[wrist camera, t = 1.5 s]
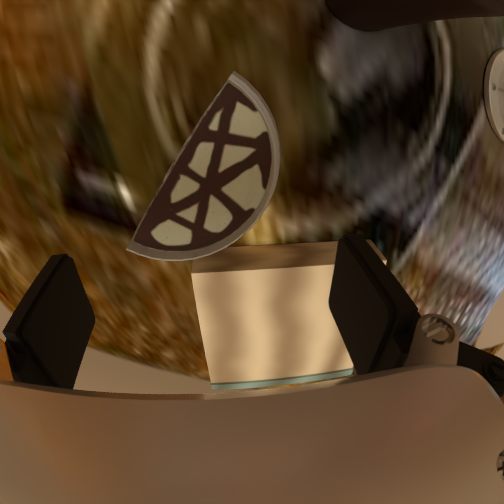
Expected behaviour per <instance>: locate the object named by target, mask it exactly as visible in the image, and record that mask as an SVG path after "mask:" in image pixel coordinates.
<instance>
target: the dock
mask: <svg viewBox="0 0 504 504" xmlns="http://www.w3.org/2000/svg"><path fill="white" fill-rule="evenodd" d="M366 241H367V242H368V243H369V245H370V246H371V247H372V248H373V250H374V251H375V252H376V253H377V255H378V256H379V257H380V258H381V260H382V261H383V262H384V263H385V265H386V261H387V260H386V259H385V258H384V256H383V255H382V254H381V252H380V251H379V250H378V248H377V247H376V246H375V245H374V243H373V242H372V241H371V240H366ZM337 245H338V241H332V242H313V243H294V244H276V245H258V246H240V247H226V248H224V249H222V250H220V251H218V252H215V253H213V254H211V255H208V256H204V257H201V258H197V259H193V264H192V271H191V275H192V282H193V288H194V294H195V300H196V306H197V312H198V317H199V323H200V328H201V334H202V339H203V344H204V349H205V354H206V359H207V364H208V369H209V374H210V379H211V385H212V389H213V390H223V389H242V388H255V387H267V386H277V385H286V384H295V383H303V382H310V381H317V380H324V379H330V378H336V377H342V376H347V375H351V374H352V371H353V363H352V360H351V358H350V356H349V353H348V351H347V348H346V346H345V344H344V341H343V339H342V337H341V334H340V332H339V330H338V327H337V325H336V323H335V320H334V318H333V316H332V314H331V311H330V309H329V304H328V300H329V294H330V288H331V283H332V277H333V271H334V265H335V258H336V252H337Z"/></svg>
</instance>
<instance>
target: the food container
mask: <svg viewBox="0 0 504 504" xmlns="http://www.w3.org/2000/svg"><path fill="white" fill-rule="evenodd" d="M280 155H281V152H280V140H279V134H278V130H277V127H276V123H275V120H274V118H273V116H272V113H271V111H270V109H269V107H268V105H267V104H266V102H265V101H264V99H263V98H262V96H261V95H260V93H259V92H258V91H257V90H256V89H255V88H254V87H253V86H252V85H251V84H250V83H249V82H248V81H247V80H246V79H245V78H244V77H242V76H241V75H239V74H238V73H237V72H235V71H234V72H233V73H232V74H231V76H230V77H229V78H228V80H227V81H226V83H225V84H224V85H223V87H222V88H221V90H220V91H219V92H218V94H217V95H216V97H215V98H214V100H213V101H212V103H211V104H210V105H209V107H208V108H207V110H206V111H205V113H204V114H203V116H202V117H201V119H200V120H199V122H198V123H197V125H196V127H195V128H194V130H193V131H192V133H191V134H190V136H189V137H188V139H187V141H186V142H185V144H184V145H183V147H182V149H181V150H180V152H179V154H178V155H177V157H176V159H175V160H174V162H173V164H172V165H171V167H170V169H169V170H168V172H167V174H166V176H165V177H164V179H163V181H162V183H161V184H160V186H159V188H158V190H157V191H156V193H155V195H154V197H153V199H152V201H151V202H150V204H149V206H148V208H147V210H146V212H145V214H144V216H143V217H142V219H141V221H140V223H139V225H138V227H137V229H136V231H135V233H134V235H133V237H132V239H131V241H130V243H129V245H128V247H127V249H126V250H128V251H131V252H133V253H135V254H138V255H141V256H144V257H148V258H151V259H157V260H164V261H184V260H192V259H197V258H201V257H204V256H208V255H211V254H213V253H215V252H218V251H220V250H222V249H224V248H226V247H227V246H229V245H231V244H232V243H234V242H235V241H237V240H238V239H239V238H240V237H241V236H243V235H244V234H245V233H246V232H247V231H249V230H250V229H251V228H252V226H253V225H254V224H255V223H256V222H257V221H258V220H259V219H260V217H261V215H262V214H263V212H264V211H265V209H266V208H267V206H268V204H269V202H270V200H271V198H272V195H273V193H274V190H275V187H276V183H277V179H278V175H279V166H280Z"/></svg>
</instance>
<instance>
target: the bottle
mask: <svg viewBox="0 0 504 504" xmlns="http://www.w3.org/2000/svg"><path fill="white" fill-rule="evenodd" d="M326 2H327V5H328V6H329V8H330V9H331V11H332V12H333V14H334V15H335V16H336V17H338V18H339V19H340V20H341V21H342V22H343V23H345V24H347V25H349V26H351V27H353V28H355V29H359V30H363V31H379V30H383V29H388V28H393V27H398V26H403V25H409V24H415V23H421V22H428V21H436V20H444V19H454V18H467V17H495V16H504V0H326Z"/></svg>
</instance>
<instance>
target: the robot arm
mask: <svg viewBox="0 0 504 504" xmlns="http://www.w3.org/2000/svg"><path fill="white" fill-rule="evenodd" d="M484 98H485V106H486V110H487V115H488V118H489V121H490V124H491V126H492V128H493V130H494V132H495V134H496V135H497V137H498V138H499V139H500V140H501V141H502V142H503V143H504V49H500V50H497V51H496V52H495V53H494V54H493V55H492V57H491V58H490V60H489V62H488V65H487V68H486V73H485V80H484ZM328 304H329V309H330V311H331V314H332V316H333V318H334V320H335V323H336V325H337V327H338V330H339V332H340V334H341V337H342V339H343V341H344V344H345V346H346V348H347V351H348V353H349V356H350V358H351V360H352V363H353V365H354V368H355V370H356V373H357V375H358V376H353V377H347V378H342V379H336V380H330V381H324V382H317V383H311V384H304V385H297V386H290V387H282V388H273V389H264V390H253V391H241V392H227V393H208V394H127V393H109V392H96V391H84V390H74V389H73V387H74V384H75V380H76V377H77V374H78V371H79V367H80V364H81V361H82V358H83V355H84V352H85V349H86V346H87V344H88V341H89V338H90V335H91V332H92V329H93V327H94V324H95V315H94V312H93V310H92V307H91V305H90V303H89V300H88V298H87V295H86V293H85V290H84V288H83V285H82V282H81V280H80V277H79V274H78V272H77V269H76V266H75V263H74V261H73V259H72V258H71V257H69V256H68V255H67V254H58V255H52V256H51V257H50V259H49V260H48V262H47V263H46V264H45V266H44V267H43V269H42V270H41V271H40V273H39V274H38V276H37V277H36V279H35V280H34V282H33V283H32V285H31V286H30V288H29V289H28V291H27V292H26V294H25V295H24V297H23V298H22V300H21V301H20V303H19V305H18V306H17V308H16V310H15V311H14V313H13V314H12V316H11V318H10V320H9V321H8V323H7V325H6V326H5V328H4V330H3V334H4V335H5V337H6V341H5V343H4V341H3V340H2V339H0V504H504V361H503V360H502V359H501V358H499V357H497V356H494V355H492V354H490V353H487V352H485V351H482V350H480V349H477V348H475V347H473V346H470V345H468V344H465V343H463V342H460V341H459V331H458V329H457V327H456V326H455V324H454V323H453V322H452V321H451V320H449V319H448V318H446V317H444V316H442V315H439V314H426V315H423V316H422V317H421V315H420V314H419V313H418V308H417V306H416V305H415V304H414V302H413V301H412V299H411V298H410V297H409V295H408V294H407V293H406V291H405V290H404V289H403V287H402V286H401V284H400V283H399V282H398V280H397V279H396V278H395V277H394V275H393V274H392V273H391V271H390V270H389V269H388V267H387V266H386V265H385V263H384V262H383V261H382V260H381V258H380V257H379V256H378V255H377V253H376V252H375V251H374V250H373V248H372V247H371V246H370V245H369V243H368V242H367V241H366V240H365V238H364V237H363V236H362V235H361V234H348V235H344V236H343V239H339V241H338V245H337V252H336V258H335V265H334V271H333V277H332V283H331V288H330V294H329V300H328Z"/></svg>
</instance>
